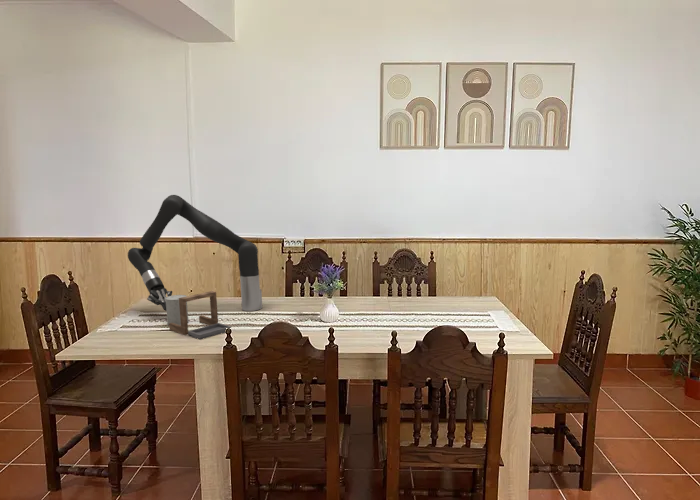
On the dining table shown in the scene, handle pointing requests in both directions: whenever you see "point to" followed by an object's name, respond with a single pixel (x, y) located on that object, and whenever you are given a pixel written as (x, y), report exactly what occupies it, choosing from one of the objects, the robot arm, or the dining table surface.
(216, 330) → the grey shallow rectangular tray
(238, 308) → the dining table surface
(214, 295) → the walnut frame
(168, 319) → the grey upright pillar
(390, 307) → the dining table surface
